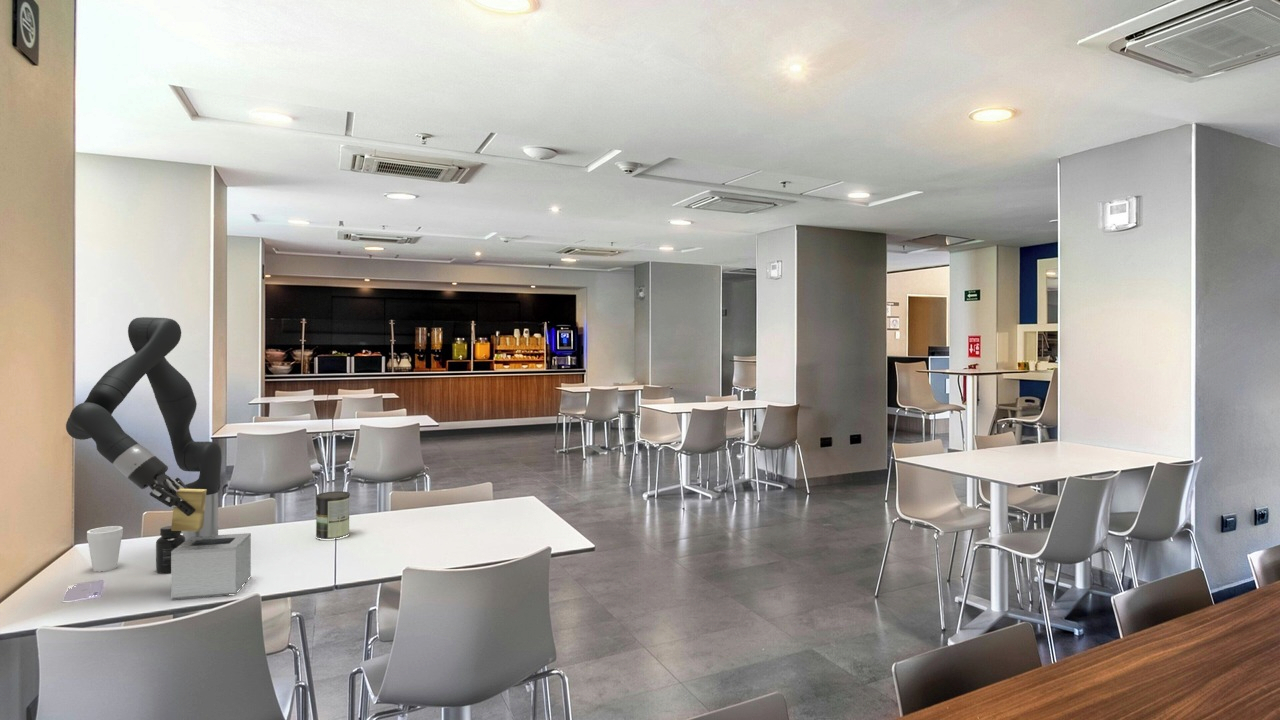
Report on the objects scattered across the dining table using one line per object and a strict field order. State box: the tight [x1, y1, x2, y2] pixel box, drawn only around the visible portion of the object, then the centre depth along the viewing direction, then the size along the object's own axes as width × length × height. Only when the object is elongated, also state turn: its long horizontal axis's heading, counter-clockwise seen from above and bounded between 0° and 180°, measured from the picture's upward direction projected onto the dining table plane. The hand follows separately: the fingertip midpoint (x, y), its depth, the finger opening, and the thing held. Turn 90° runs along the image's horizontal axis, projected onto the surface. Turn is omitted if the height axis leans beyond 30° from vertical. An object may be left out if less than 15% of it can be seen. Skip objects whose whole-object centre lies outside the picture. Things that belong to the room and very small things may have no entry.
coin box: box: [170, 532, 252, 601], centre depth 175 cm, size 14×14×12 cm
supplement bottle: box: [155, 525, 185, 574], centre depth 189 cm, size 7×7×12 cm
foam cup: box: [86, 525, 124, 573], centre depth 190 cm, size 8×8×11 cm
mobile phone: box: [62, 579, 105, 601], centre depth 172 cm, size 8×1×15 cm
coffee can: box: [315, 490, 351, 539], centre depth 225 cm, size 10×10×14 cm
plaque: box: [171, 489, 207, 532], centre depth 174 cm, size 4×6×10 cm, turn 105°
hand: (195, 511), depth 174 cm, fingers closed on plaque, 3 cm apart
